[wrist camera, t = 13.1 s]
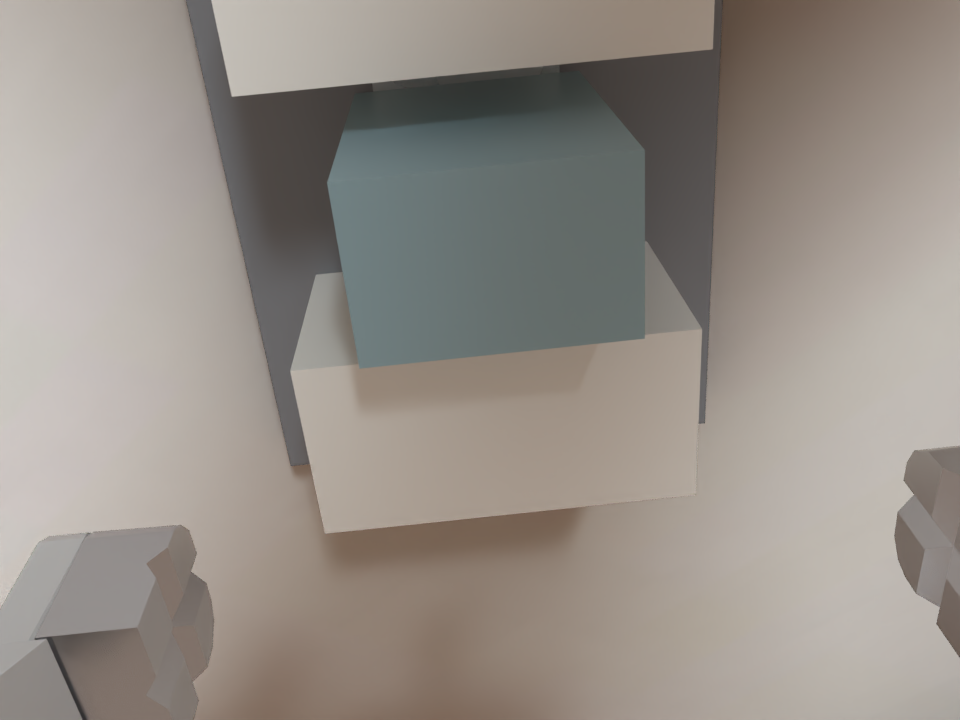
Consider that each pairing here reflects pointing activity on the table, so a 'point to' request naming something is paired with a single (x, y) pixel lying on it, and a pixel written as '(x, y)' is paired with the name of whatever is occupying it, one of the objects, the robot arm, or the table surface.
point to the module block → (488, 220)
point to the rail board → (311, 137)
